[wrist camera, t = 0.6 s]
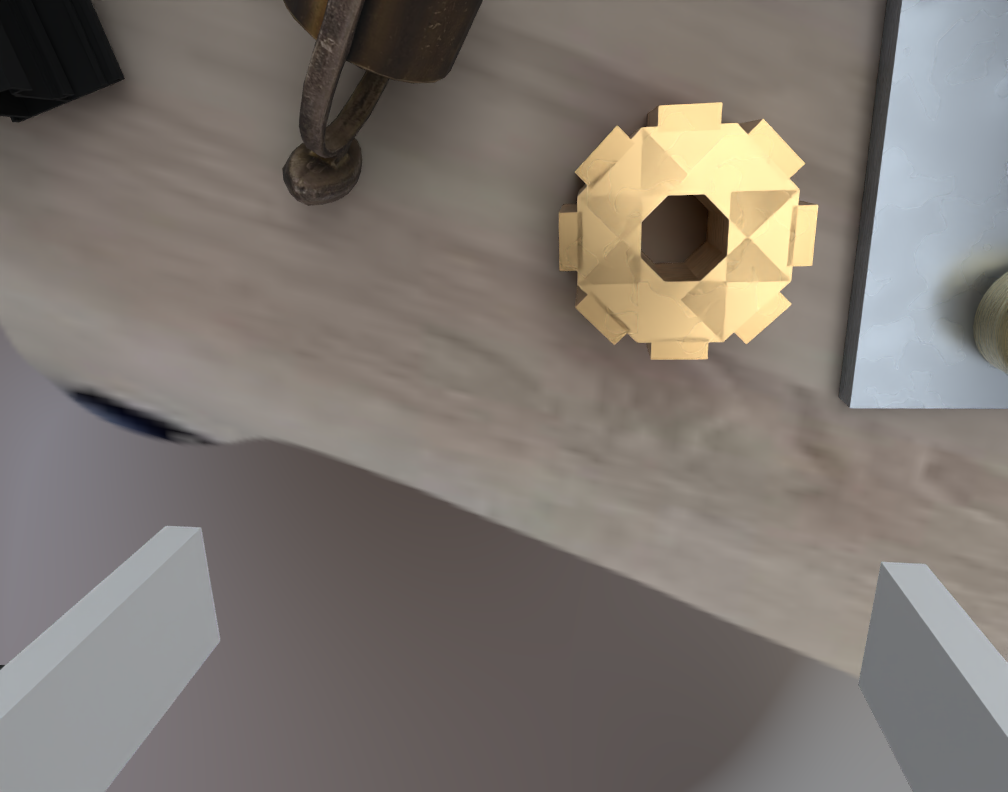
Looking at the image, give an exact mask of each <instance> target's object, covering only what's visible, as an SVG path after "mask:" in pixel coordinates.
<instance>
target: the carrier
mask: <svg viewBox="0 0 1008 792" xmlns="http://www.w3.org/2000/svg"><path fill="white" fill-rule="evenodd" d="M839 398H840V399H841V400H842V401H843V402H844V403H845V404H846V405H847V406H848V407H849V408H970V409H1008V0H887V6H886V14H885V22H884V30H883V39H882V47H881V55H880V63H879V71H878V80H877V88H876V96H875V104H874V112H873V121H872V129H871V137H870V145H869V153H868V161H867V170H866V178H865V186H864V194H863V202H862V211H861V219H860V227H859V235H858V243H857V252H856V260H855V268H854V276H853V284H852V293H851V301H850V309H849V317H848V325H847V334H846V342H845V350H844V358H843V366H842V375H841V383H840V391H839Z"/></svg>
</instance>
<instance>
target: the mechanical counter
mask: <svg viewBox="0 0 1008 792" xmlns="http://www.w3.org/2000/svg"><path fill="white" fill-rule="evenodd" d="M283 1H284V3H285V5H286V8H287V9H288V10H289V12H290V13H291V15H292V16H293V18H294V19H295V20H296V21H297V22H298V23H299V24H300V25H301V26H302V27H303V28H304V29H305V30H306V31H307V32H308V33H309V34H310V35H311V36H312V37H313V38H314V39H315V40H316V44H315V47H314V50H313V53H312V56H311V60H310V64H309V67H308V71H307V74H306V78H305V81H304V85H303V94H302V102H301V109H300V118H299V128H300V133H301V137H302V140H303V142H304V143H302V144H301V145H300V146H298V147H297V148H296V149H295V150H294V151H293V152H292V153H291V155H290V157H289V158H288V160H287V162H286V164H285V165H284V167H283V179H284V182H285V184H286V186H287V188H288V190H289V192H290V194H291V195H292V196H293V197H294V198H295V199H296V200H297V201H299V202H301V203H304V204H306V205H308V206H309V205H323V204H327V203H330V202H334V201H336V200H338V199H340V198H342V197H344V196H345V195H347V194H348V193H349V192H350V191H351V189H352V188H353V187H354V185H355V184H356V183H357V181H358V178H359V175H360V172H361V167H362V154H361V148H360V146H359V143H358V141H357V140H356V139H354V137H355V136H356V134H357V133H358V131H359V130H360V129H361V127H362V126H363V124H364V123H365V122H366V120H367V119H368V118H369V116H370V115H371V113H372V111H373V109H374V107H375V105H376V103H377V101H378V100H379V98H380V96H381V94H382V92H383V90H384V88H385V87H386V85H387V83H388V81H389V79H392V80H397V81H403V82H408V83H434V82H437V81H439V80H441V79H442V78H444V77H445V76H446V75H447V74H448V73H449V72H450V71H451V68H452V66H453V64H454V62H455V60H456V58H457V55H458V53H459V51H460V49H461V47H462V44H463V42H464V40H465V38H466V36H467V34H468V31H469V29H470V27H471V25H472V23H473V20H474V18H475V16H476V14H477V12H478V9H479V7H480V5H481V3H482V1H483V0H283ZM345 61H348V62H351V63H353V64H355V65H357V66H358V67H360V68H362V69H364V70H366V72H365V74H364V76H363V78H362V80H361V81H360V83H359V84H358V86H357V88H356V89H355V91H354V92H353V94H352V96H351V97H350V99H349V100H348V102H347V103H346V105H345V106H344V108H343V109H342V110H341V112H340V114H339V115H338V117H337V118H336V119H335V120H334V121H333V122H332V123H331V124H330V125H329V126H328V127H327V122H328V116H329V112H330V108H331V104H332V100H333V96H334V93H335V90H336V87H337V83H338V80H339V77H340V74H341V71H342V68H343V66H344V63H345Z"/></svg>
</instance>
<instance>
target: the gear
mask: <svg viewBox="0 0 1008 792" xmlns="http://www.w3.org/2000/svg"><path fill="white" fill-rule="evenodd" d="M721 115H722V103H702V104H681V105H661V106H657V107H656V108H655V109H653V110H652V111H650V112H649V113H648V118H647V127H642V128H640V129H638V130H636V131H634V132H633V133H632V134H631V135H630V136H629V137H628V136H627V135H626V134H625V133H624V132H623V131H622V130H621V129H620V128H619V127H618V126H616V127H615V128H614V129H613V131H612V132H611V133H610V134H609V135H608V136H607V137H606V138H605V139H604V140H603V141H602V142H601V144H600V145H599V146H598V147H597V148H596V149H595V150H594V151H593V152H592V153H591V154H590V156H589V157H588V158H587V159H586V160H585V161H584V162H583V163H582V164H581V165H580V166H579V168H578V169H577V170H576V171H575V173H576V174H577V175H578V176H579V177H580V178H581V179H582V180H583V181H584V182H585V183H586V184H585V185H584V186H583V187H582V188H581V189H580V190H579V192H578V196H577V204H563V206H562V207H561V209H560V211H559V271H578V285H577V293H576V303H575V308H576V309H577V310H578V311H579V312H580V313H581V314H582V315H584V316H585V317H586V318H587V319H588V320H589V321H590V322H591V323H592V324H593V325H594V326H595V327H596V328H597V329H598V330H599V331H600V332H601V333H602V334H603V335H604V336H605V337H606V338H607V339H608V340H609V341H611V342H612V343H613V344H614V345H615V344H616V343H617V342H619V341H620V340H621V339H622V338H623V337H624V336H625V335H626V334H627V333H628V334H629V335H630V336H631V337H632V338H633V339H634V340H635V341H636V342H637V343H646V345H647V348H648V352H649V355H650V358H651V360H665V359H708V342H724V341H725V340H726V339H727V338H728V337H729V336H730V335H731V334H733V333H734V332H735V333H736V334H737V335H738V336H739V337H740V338H741V339H742V340H743V341H744V342H745V343H746V344H747V343H748V342H750V341H751V340H752V339H753V338H754V337H755V336H756V335H757V334H759V333H760V332H761V331H762V330H763V329H764V328H765V327H767V326H768V325H769V324H770V323H771V322H772V321H773V320H774V319H776V318H777V317H778V316H779V315H780V314H781V313H782V312H784V311H785V310H786V309H787V308H788V307H789V306H790V305H791V303H790V302H789V301H788V300H787V299H786V298H785V297H784V296H783V295H782V294H781V293H780V292H779V291H781V290H782V289H783V288H784V287H785V286H786V285H787V284H788V283H789V282H791V276H792V266H812V261H813V251H814V242H815V232H816V222H817V212H818V205H817V204H812V203H808V202H803V201H799V191H800V189H799V188H798V187H797V186H796V185H795V184H794V183H793V182H792V181H791V180H790V179H789V178H790V177H791V176H792V175H794V174H795V173H796V172H797V171H798V170H799V169H800V168H801V167H802V166H803V165H804V164H805V163H804V162H803V161H802V160H801V159H800V158H799V157H798V155H797V154H796V153H795V152H794V151H793V150H792V149H791V148H790V147H789V146H788V145H787V144H786V143H785V142H784V140H783V139H782V138H781V137H780V136H779V135H778V134H777V133H776V132H775V131H774V130H773V129H772V128H771V126H770V125H769V124H768V123H767V122H766V121H765V120H764V119H760V120H755V121H751V122H746V123H741V124H738V123H727V124H721ZM668 195H694V196H695V197H696V198H697V199H698V200H699V201H700V202H701V203H702V204H703V205H704V206H705V207H706V208H707V209H708V217H707V235H706V241H705V242H704V243H703V244H702V245H701V246H700V247H699V248H698V249H697V250H696V251H695V252H694V253H693V254H692V255H691V256H690V257H689V258H688V259H687V260H686V261H685V262H678V263H653V262H652V261H651V260H650V259H649V258H648V257H647V256H646V255H645V254H644V253H643V252H642V251H641V224H642V221H643V220H644V219H645V218H646V217H647V216H648V215H649V214H650V213H651V212H652V211H653V210H654V209H655V208H656V207H657V206H658V205H659V204H660V203H661V202H662V201H663V200H664V199H665V198H666V197H667V196H668Z"/></svg>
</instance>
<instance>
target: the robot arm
mask: <svg viewBox="0 0 1008 792" xmlns="http://www.w3.org/2000/svg"><path fill="white" fill-rule="evenodd" d="M219 642H220V635H219V629H218V624H217V617H216V611H215V606H214V600H213V594H212V589H211V583H210V576H209V570H208V564H207V559H206V553H205V547H204V541H203V535H202V530H201V527H181V526H180V527H179V526H165V527H164V528H163V529H162V530H161V531H159V532H158V533H157V534H156V535H155V536H154V537H152V538H151V539H150V540H149V541H148V542H147V543H146V544H144V545H143V546H142V547H141V548H140V549H139V550H137V551H136V552H135V553H134V554H133V555H132V556H131V557H129V558H128V559H127V560H126V561H125V562H124V563H123V564H121V565H120V566H119V567H118V568H117V569H116V570H115V571H113V572H112V573H111V574H110V575H109V576H108V577H106V578H105V579H104V580H103V581H102V582H101V583H100V584H98V585H97V586H96V587H95V588H94V589H93V590H92V591H90V592H89V593H88V594H87V595H86V596H85V597H83V598H82V599H81V600H80V601H79V602H78V603H77V604H75V605H74V606H73V607H72V608H71V609H70V610H69V611H67V612H66V613H65V614H64V615H63V616H62V617H61V618H59V619H58V620H57V621H56V622H55V623H54V624H53V625H51V626H50V627H49V628H48V629H47V630H46V631H44V632H43V633H42V634H41V635H40V636H39V637H38V638H36V640H34V641H33V642H32V643H31V644H29V645H28V646H27V647H26V648H25V649H24V650H23V651H21V652H20V653H19V654H18V655H17V656H16V657H15V658H13V659H12V660H11V661H10V662H9V663H8V664H6V665H0V792H105V791H106V790H107V789H108V787H109V786H110V785H111V783H112V782H113V781H114V779H115V778H116V777H117V775H118V774H119V773H120V772H121V770H122V769H123V768H124V766H125V765H126V764H127V762H128V761H129V760H130V758H131V757H132V756H133V755H134V753H135V752H136V751H137V749H138V748H139V747H140V745H141V744H142V743H143V741H144V740H145V739H146V737H147V736H148V735H149V734H150V732H151V731H152V730H153V728H154V727H155V726H156V724H157V723H158V722H159V720H160V719H161V718H162V716H163V715H164V714H165V712H166V711H167V710H168V709H169V707H170V706H171V705H172V703H173V702H174V701H175V699H176V698H177V697H178V695H179V694H180V693H181V692H182V690H183V689H184V688H185V686H186V685H187V684H188V682H189V681H190V680H191V678H192V677H193V676H194V674H195V673H196V672H197V671H198V669H199V668H200V667H201V665H202V664H203V663H204V662H205V660H206V659H207V658H208V656H209V655H210V653H211V652H212V651H213V650H214V648H215V647H216V646H217V644H218V643H219ZM858 685H859V687H860V689H861V691H862V693H863V695H864V697H865V699H866V701H867V703H868V705H869V707H870V709H871V711H872V713H873V715H874V717H875V719H876V721H877V723H878V724H879V727H880V728H881V730H882V732H883V734H884V736H885V738H886V740H887V742H888V744H889V746H890V748H891V750H892V752H893V754H894V756H895V758H896V760H897V762H898V764H899V766H900V768H901V769H902V772H903V774H904V776H905V778H906V780H907V781H908V783H909V785H910V787H911V789H912V791H913V792H1008V663H1007V662H1006V661H1005V659H1004V658H1003V657H1002V656H1001V654H1000V653H999V652H998V651H997V650H996V648H995V647H994V646H993V645H992V644H991V642H990V641H989V640H988V639H987V638H986V636H985V635H984V634H983V633H982V631H981V630H980V629H979V628H978V627H977V625H976V624H975V623H974V622H973V621H972V619H971V618H970V617H969V616H968V615H967V613H966V612H965V611H964V610H963V609H962V607H961V606H960V605H959V604H958V602H957V601H956V600H955V599H954V598H953V596H952V595H951V594H950V593H949V592H948V590H947V589H946V588H945V587H944V586H943V584H942V583H941V582H940V581H939V579H938V578H937V577H936V576H935V575H934V573H933V572H932V571H931V570H930V569H929V567H928V566H927V565H926V564H914V563H895V562H881V566H880V571H879V576H878V582H877V587H876V593H875V598H874V603H873V609H872V614H871V619H870V625H869V630H868V635H867V641H866V646H865V652H864V657H863V662H862V668H861V673H860V678H859V684H858Z"/></svg>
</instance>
